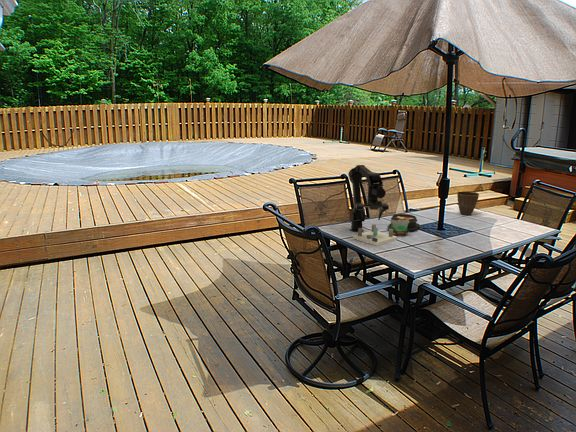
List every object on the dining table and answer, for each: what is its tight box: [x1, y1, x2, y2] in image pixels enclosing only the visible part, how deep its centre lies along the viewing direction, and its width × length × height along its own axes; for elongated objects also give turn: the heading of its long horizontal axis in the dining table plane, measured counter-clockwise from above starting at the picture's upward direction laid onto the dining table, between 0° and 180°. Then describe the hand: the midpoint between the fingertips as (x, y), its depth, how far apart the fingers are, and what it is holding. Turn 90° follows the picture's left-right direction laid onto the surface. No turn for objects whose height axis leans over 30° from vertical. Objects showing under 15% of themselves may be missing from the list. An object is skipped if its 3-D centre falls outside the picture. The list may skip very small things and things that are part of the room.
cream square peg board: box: [352, 223, 398, 247], centre depth 260 cm, size 18×18×6 cm
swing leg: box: [367, 227, 379, 239], centre depth 257 cm, size 9×3×5 cm, turn 130°
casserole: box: [387, 213, 421, 232], centre depth 282 cm, size 25×19×8 cm
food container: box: [390, 218, 409, 237], centre depth 267 cm, size 12×6×10 cm, turn 105°
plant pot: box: [456, 191, 480, 217], centre depth 319 cm, size 15×15×16 cm
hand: (371, 220), depth 258 cm, fingers open, 9 cm apart
